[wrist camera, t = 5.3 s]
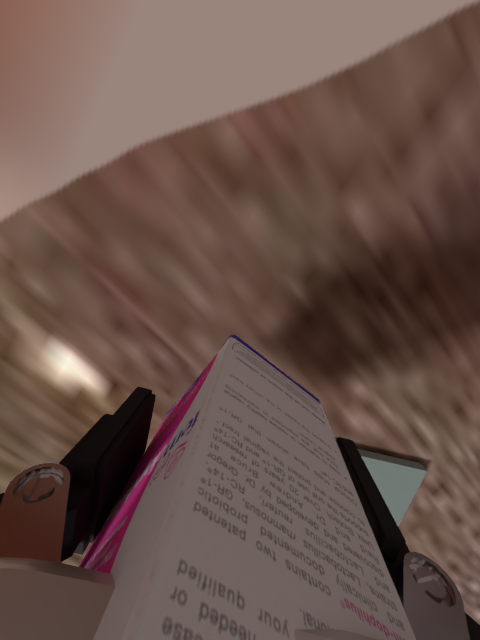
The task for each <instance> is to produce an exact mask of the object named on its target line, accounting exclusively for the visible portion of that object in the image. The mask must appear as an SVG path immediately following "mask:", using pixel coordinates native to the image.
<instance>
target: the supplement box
mask: <svg viewBox="0 0 480 640" xmlns="http://www.w3.org/2000/svg"><path fill="white" fill-rule="evenodd" d="M79 567H81V568H85V569H90V570H95V571H99V572H104V573H109V574H112V575H113V578H114V582H115V589H114V591H113V594H112V596H111V599H110V601H109V603H108V606H107V608H106V610H105V613H104V615H103V617H102V620H101V622H100V624H99V627H98V629H97V632H96V634H95V636H94V639H93V640H295V629H329V630H344V631H348V632H352V633H356V634H360V635H364V636H368V637H372V638H376V639H380V640H416V638H415V635H414V633H413V630H412V628H411V625H410V623H409V620H408V618H407V616H406V613H405V611H404V608H403V605H402V603H401V600H400V598H399V595H398V593H397V591H396V588H395V586H394V583H393V581H392V579H391V576H390V574H389V572H388V569H387V567H386V564H385V562H384V559H383V556H382V554H381V551H380V549H379V546H378V544H377V541H376V539H375V537H374V534H373V532H372V529H371V527H370V524H369V522H368V519H367V517H366V515H365V512H364V509H363V507H362V504H361V502H360V499H359V497H358V494H357V492H356V489H355V487H354V484H353V482H352V479H351V477H350V474H349V472H348V470H347V467H346V465H345V462H344V460H343V457H342V455H341V452H340V449H339V447H338V445H337V442H336V440H335V437H334V435H333V432H332V430H331V428H330V425H329V423H328V420H327V418H326V415H325V413H324V410H323V408H322V406H321V404H320V400H319V399H318V398H316V397H315V396H314V395H313V394H311V393H310V392H309V391H307V390H306V389H305V388H303V387H302V386H301V385H299V384H298V383H297V382H295V381H294V380H293V379H292V378H290V377H289V376H288V375H286V374H285V373H284V372H282V371H281V370H280V369H278V368H277V367H276V366H275V365H273V364H272V363H271V362H269V361H268V360H267V359H266V358H264V357H263V356H262V355H261V354H259V353H258V352H257V351H256V350H254V349H253V348H251V347H250V346H249V345H248V344H246V343H245V342H244V341H242V340H241V339H240V338H238V337H237V336H235V335H231V336H230V337H229V338H228V339H227V341H226V342H225V343H224V345H223V346H222V348H221V349H220V350H219V352H218V353H217V354H216V356H215V357H214V358H213V360H212V361H211V362H210V363H209V365H208V366H207V367H206V369H205V370H204V371H203V372H202V373H201V374H200V376H199V377H198V378H197V379H196V381H195V382H194V383H193V384H192V385H191V387H190V388H189V389H188V390H187V391H186V393H185V394H184V395H183V396H182V397H181V399H180V400H179V401H178V402H177V403H176V404H175V405H174V406H173V407H172V408H171V410H170V411H169V412H168V414H167V416H166V417H165V419H164V421H163V423H162V424H161V426H160V428H159V429H158V431H157V433H156V435H155V436H154V438H153V440H152V441H151V443H150V445H149V446H148V448H147V450H146V452H145V453H144V455H143V457H142V459H141V460H140V462H139V464H138V465H137V467H136V469H135V471H134V472H133V474H132V476H131V478H130V479H129V481H128V483H127V485H126V486H125V488H124V490H123V492H122V493H121V495H120V497H119V498H118V500H117V502H116V503H115V505H114V507H113V509H112V510H111V512H110V514H109V516H108V517H107V519H106V521H105V523H104V524H103V526H102V528H101V530H100V532H99V533H98V535H97V537H96V538H95V540H94V542H93V543H92V545H91V547H90V549H89V550H88V552H87V554H86V555H85V557H84V559H83V561H82V562H81V564H80V566H79Z"/></svg>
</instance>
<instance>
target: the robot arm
mask: <svg viewBox="0 0 480 640" xmlns="http://www.w3.org/2000/svg"><path fill="white" fill-rule="evenodd" d="M154 402H155V395H154V394H152V390H149V389H145V388H141V387H137V388H136V389H135V390H134V392H133V393H132V394H131V395H130V396H129V397H128V399H127V400H126V401H125V402H124V403H123V404H122V405H121V407H120V408H119V409H118V410H117V411H116V412H115V413H114V415H110V414H105V415H104V416H102V417H101V419H100V420H99V421H98V422H97V423H96V424H95V425H94V426H93V427H92V428H91V429H90V430H89V431H88V433H87V434H86V435H85V436H84V437H83V438H82V439H81V440H80V441H79V442H78V443H77V444H76V445H75V447H74V448H73V449H72V450H71V451H70V452H69V453H68V454H67V455H66V456H65V457H64V458H63V459H62V461H61V462H60V463H59V464H58V463H42V464H38V465H34V466H32V467H30V468H27V469H25V470H24V471H22V472H21V473H19V474H18V475H16V476H15V477H14V478H13V479H12V480H11V481H10V483H9V485H8V487H7V488H6V491H5V493H2V494H0V640H93V639H94V636H95V634H96V632H97V629H98V627H99V624H100V622H101V620H102V617H103V615H104V613H105V610H106V608H107V606H108V603H109V601H110V599H111V596H112V594H113V591H114V589H115V582H114V578H113V575H112V574H109V573H104V572H99V571H95V570H90V569H85V568H81V567H76V566H71V565H67V564H62V561H63V560H65V559H67V558H69V557H71V556H72V555H73V553H78V554H82V555H83V553H84V551H85V549H86V547H87V546H88V544H89V542H92V543H93V542H94V540H95V538H96V537H97V535H98V533H99V532H100V530H101V528H102V526H103V524H104V523H105V521H106V519H107V517H108V516H109V514H110V512H111V510H112V509H113V507H114V505H115V503H116V502H117V500H118V498H119V497H120V495H121V493H122V492H123V490H124V488H125V486H126V485H127V483H128V481H129V479H130V478H131V476H132V474H133V472H134V471H135V469H136V467H137V465H138V464H139V462H140V460H141V459H142V457H143V455H144V452H145V449H146V445H147V439H148V434H149V429H150V423H151V418H152V412H153V407H154ZM336 442H337V445H338V447H339V449H340V452H341V455H342V457H343V460H344V462H345V465H346V467H347V470H348V472H349V474H350V477H351V479H352V482H353V484H354V487H355V489H356V492H357V494H358V497H359V499H360V502H361V504H362V507H363V509H364V512H365V515H366V517H367V519H368V522H369V524H370V527H371V529H372V532H373V534H374V537H375V539H376V541H377V544H378V546H379V549H380V551H381V554H382V556H383V559H384V562H385V564H386V567H387V569H388V572H389V574H390V576H391V579H392V581H393V583H394V586H395V588H396V591H397V593H398V595H399V598H400V600H401V603H402V605H403V608H404V611H405V613H406V616H407V618H408V620H409V623H410V625H411V628H412V630H413V633H414V635H415V638H416V640H480V625H479V624H478V623H476V622H475V621H474V620H473V619H472V618H471V617H470V616H469V615H467V614H466V613H465V611H464V605H463V601H462V598H461V595H460V592H459V590H458V589H457V587H456V585H455V583H454V582H453V581H452V579H451V578H450V577H449V576H448V574H447V573H446V572H445V571H444V570H443V569H442V568H441V567H440V566H439V565H438V564H436V563H435V562H434V561H433V560H431V559H430V558H428V557H426V556H425V555H423V554H420V553H417V552H410V551H409V549H408V547H407V545H406V543H405V542H406V541H405V539H404V537H403V535H402V533H401V531H400V529H399V528H398V526H397V524H396V522H395V520H394V518H393V516H392V514H391V512H390V510H389V508H388V507H387V505H386V503H385V501H384V499H383V497H382V495H381V493H380V491H379V489H378V487H377V486H376V484H375V482H374V480H373V478H372V476H371V474H370V472H369V470H368V468H367V466H366V464H365V463H364V461H363V459H362V457H361V455H360V453H359V451H358V449H357V447H356V445H355V443H354V442H353V441H352V440H348V439H344V438H340V437H338V438H337V439H336ZM295 640H380V639H376V638H372V637H368V636H364V635H360V634H356V633H352V632H348V631H344V630H329V629H295Z"/></svg>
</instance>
